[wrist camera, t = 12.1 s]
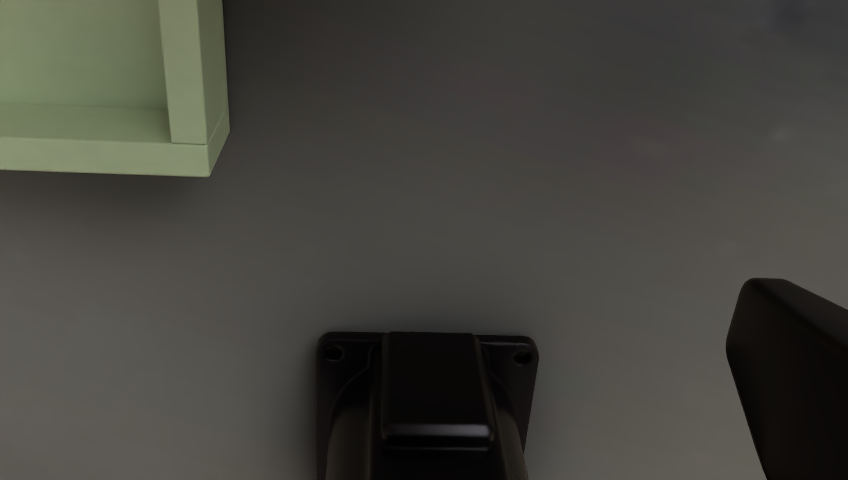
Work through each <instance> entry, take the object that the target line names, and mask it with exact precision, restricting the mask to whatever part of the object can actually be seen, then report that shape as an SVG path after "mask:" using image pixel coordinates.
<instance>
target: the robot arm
mask: <svg viewBox="0 0 848 480" xmlns="http://www.w3.org/2000/svg"><path fill="white" fill-rule="evenodd" d="M329 347H338V348H339V349H341V351H339V352H336V353H334V352H330V351H329V350H327V349H328V348H329ZM519 351H526V352H527V354H525V355H524V356H520V357H518V356H515V354H516V353H517V352H519ZM726 354H727V359H728V362H729V366H730V369H731V372H732V375H733V378H734V381H735V385H736V388H737V391H738V394H739V397H740V401H741V404H742V407H743V410H744V413H745V416H746V420H747V423H748V426H749V429H750V432H751V435H752V439H753V442H754V445H755V448H756V451H757V454H758V457H759V460H760V463H761V465H762V468H763V471H764V473H765V476H766V478H767V480H848V310H847V309H845V308H842V307H840V306H838V305H836V304H834V303H832V302H830V301H828V300H826V299H824V298H822V297H820V296H818V295H816V294H814V293H812V292H810V291H808V290H806V289H804V288H801V287H799V286H797V285H795V284H793V283H791V282H789V281H787V280H784V279H774V278H752V279H749V280H748V281H746V282H745V283H744V285H743V286H742V288H741V291H740V294H739V297H738V300H737V304H736V307H735V311H734V314H733V317H732V321H731V324H730V328H729V331H728V335H727V339H726ZM538 360H539V354H538V350H537V346H536V344H535V342H534V341H533V340H532V339H530V338H529V337H525V336H502V335H473V334H470V333H433V332H389V333H375V332H328V333H326V334H324V335H322V336H321V338H320V339H319V340H318V344H317V352H316V388H317V480H529V479H528V475H527V470H526V465H525V460H524V456H523V455H524V449H525V443H526V436H527V430H528V424H529V417H530V411H531V405H532V398H533V392H534V386H535V379H536V373H537V367H538Z"/></svg>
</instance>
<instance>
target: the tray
mask: <svg viewBox="0 0 848 480" xmlns="http://www.w3.org/2000/svg"><path fill="white" fill-rule="evenodd" d="M229 132H230V127H229V109H228V92H227V75H226V58H225V41H224V23H223V6H222V0H0V170H21V171H49V172H77V173H105V174H132V175H160V176H188V177H209V176H210V174H211V172H212V170H213V168H214V165H215V163H216V161H217V159H218V157H219V154H220V152H221V150H222V148H223V145H224V143H225V141H226V139H227V137H228V134H229Z"/></svg>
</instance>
